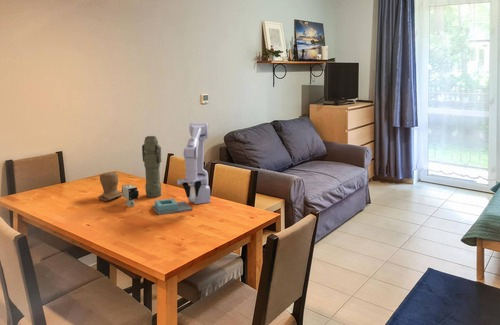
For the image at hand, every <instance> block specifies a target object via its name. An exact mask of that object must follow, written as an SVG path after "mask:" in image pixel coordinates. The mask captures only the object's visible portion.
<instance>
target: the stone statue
mask: <svg viewBox="0 0 500 325" xmlns="http://www.w3.org/2000/svg"><path fill="white" fill-rule="evenodd" d="M143 142H144V143H143V144H142V146H141V156H142V162H143V163H144V164H143V166H144V168H145V185H144V186H145V187H144V188H145V196H146V198H150V199H151V198H152V199H155V198H159V197H161V196H162V184H161V180H160V179H161V175H160V168H161V163H162V147H161V146H160V144H159V142H158V138H157V136H155V135H148V136H145V137H144V141H143Z"/></svg>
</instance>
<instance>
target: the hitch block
mask: <svg viewBox="0 0 500 325" xmlns="http://www.w3.org/2000/svg"><path fill="white" fill-rule="evenodd" d="M151 207H152V208H153V210H154V211H155V213H156V214H157V216H160V215H169V214H176V213H184V212H190V211H193V207H191V206H190V205H189V203H188V202H186V201H185V200H183V201H176V200H175V199H174V198H167V199H158V200H154V204H152V206H151Z"/></svg>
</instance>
